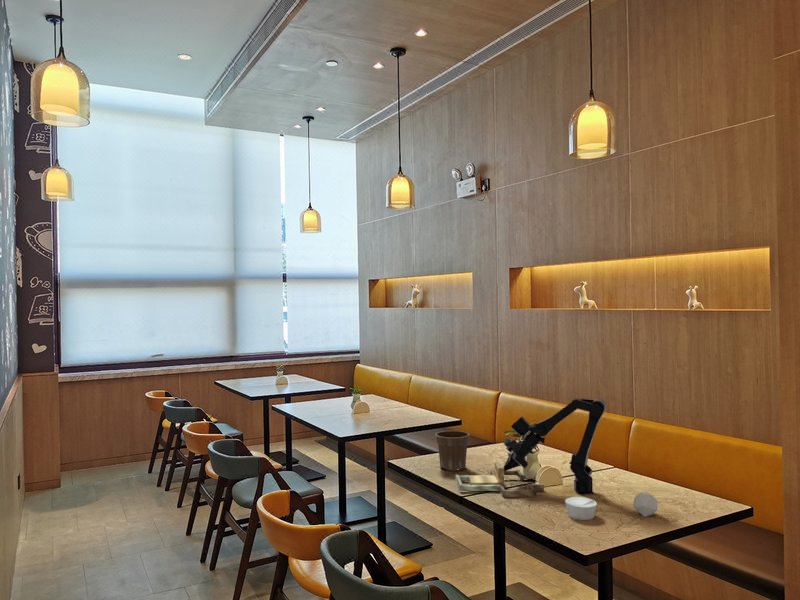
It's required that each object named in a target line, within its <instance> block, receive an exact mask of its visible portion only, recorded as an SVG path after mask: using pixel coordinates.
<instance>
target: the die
mask: <svg viewBox="0 0 800 600" xmlns="http://www.w3.org/2000/svg"><path fill="white" fill-rule="evenodd" d="M658 505H659V500H657V499H656V497H654V496H653V495H652V494H651V493H649V492H648V491H643V492H640V493H637V494H636V495H635V497H634V498H633V504H632V508H634V509H635V510H636V511H637V512H638V513H639V514H640V515H641V516H643V517H645V518H647V517H649V516H651V515H652V516H653V515H654V514H655V513H656V512H657V511H658V508H659V507H658Z"/></svg>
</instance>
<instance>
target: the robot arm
mask: <svg viewBox="0 0 800 600" xmlns="http://www.w3.org/2000/svg"><path fill="white" fill-rule="evenodd" d="M607 408H608V405H607V402H606V401H605V400H604V399H601V398H596V399H588V398H587V399H586V398H580V397H576V398H574V399H572V400H571V402H570V403H569V404H567V405H566V406H564V407H562V408H561V409H560V410H559V411H558V412H556V413H554V414H553V415H552V416H550V417H547V418H545V419H543V420H541V421H540V422H538V423H532V424H531V423H529V422H528V421H527V420H526V419H525V417H524V416H520V417H519V418H518V419H517V420H516V421H515V422H514V423H513V424H512V425H511V426H510V428H511V429H512V430H513V431H514V432H516V434H518V436H519V437H524V438H523V439H522V440H520V439H519V440H518V441H517V440H516V439H514V438H510V437H507V436H506V437H505V439H504V442H503V445H504V446H505V448H506V450H507V451H508V452H507V459H506V461H505V463H504V466H503V467H504V471H507V470H512V469H515V468H518V467H522V468H523V469H526V468H527V467H528V466H529V464H528V463H529V462H528V461H527V459H526V457H527V456H528V455H529V454H532V453H533V450H534V449H535V448H536V447H537V446H538V445H539V444H540V443H541V444H543V445H545V444H546V441H545V440H546V436H547V435H549V433H550V432H551V431H553V429H554V428H556V426H557V425H558V424H559V423H560V422H561V421H563V420H564V419H566V418H567V417H568V416H570V415H571V414H572V413H574V412H575V411H577V410H582V411H585V412H588V421H587V424H586V427H585V430H584V433H583V437H582V439H581V442H580V445H579V448H578V450H577V451H574V452H573V453H572V455H571V459H570V461H569V462H568V464H569V469H570V471H571V472H572V473H573V474H574V478H575V479H574V480H573V490H574V491H575V492H576V493H577V494H578V495H591V494H592V495H594V494H595V492H594V491H593V477H592V474H593V472H594V470H593V469H592V468H591V466H589V465H588V462H589V451H590V448H591V445H592V442H593V439H594V437H595V434H596V431H597V427H598V424H599V422H600V420H601V419H602V417H603V415H604V414H605V412H606V410H607Z"/></svg>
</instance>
